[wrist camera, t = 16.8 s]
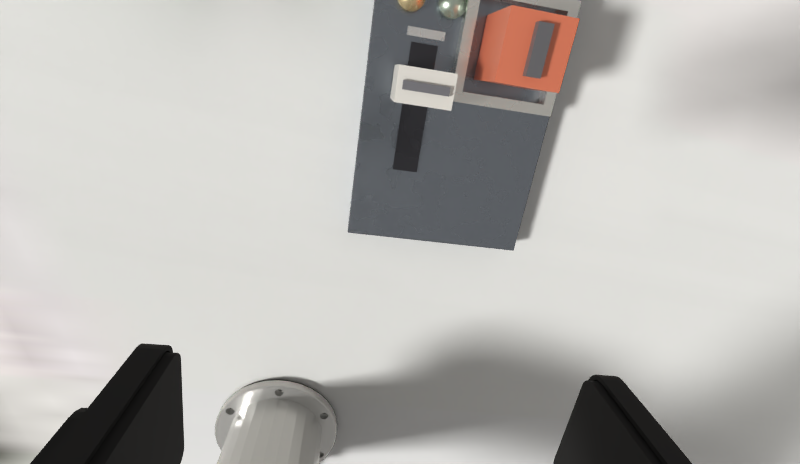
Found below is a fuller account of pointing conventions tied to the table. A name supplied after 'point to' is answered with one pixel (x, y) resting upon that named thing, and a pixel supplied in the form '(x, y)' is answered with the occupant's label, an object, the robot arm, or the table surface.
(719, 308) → the table surface
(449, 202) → the panel
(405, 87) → the block
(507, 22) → the cap
